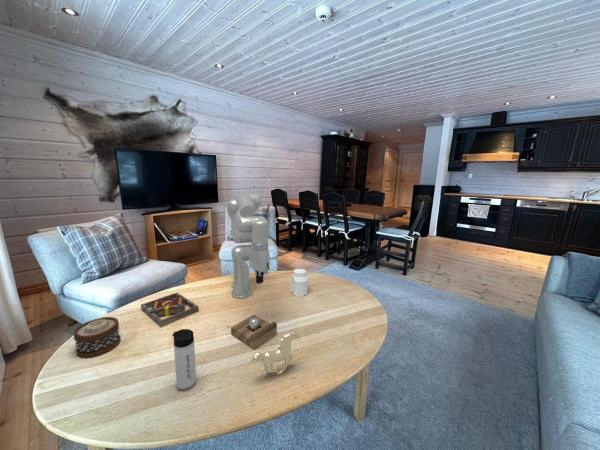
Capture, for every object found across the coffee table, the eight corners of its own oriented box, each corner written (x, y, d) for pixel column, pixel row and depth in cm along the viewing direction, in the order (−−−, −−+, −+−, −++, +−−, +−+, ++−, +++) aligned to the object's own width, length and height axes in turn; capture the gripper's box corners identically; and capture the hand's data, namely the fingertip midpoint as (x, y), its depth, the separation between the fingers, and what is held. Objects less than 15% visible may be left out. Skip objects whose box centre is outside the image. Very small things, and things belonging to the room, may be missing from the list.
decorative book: (154, 308, 134) (153, 300, 133) (186, 302, 140) (185, 294, 139) (150, 319, 124) (149, 310, 123) (185, 313, 130) (184, 304, 129)
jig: (231, 334, 113) (230, 323, 112) (253, 321, 124) (253, 310, 123) (253, 350, 104) (253, 337, 103) (276, 334, 115) (276, 323, 114)
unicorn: (252, 387, 85) (251, 344, 82) (248, 379, 89) (248, 337, 86) (301, 368, 95) (303, 328, 92) (296, 361, 98) (298, 323, 95)
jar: (309, 295, 155) (310, 273, 152) (295, 297, 151) (296, 275, 148) (301, 287, 165) (302, 267, 162) (288, 290, 161) (289, 268, 158)
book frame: (141, 309, 132) (140, 304, 131) (177, 297, 147) (177, 292, 146) (160, 327, 117) (160, 321, 116) (198, 311, 132) (198, 306, 131)
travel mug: (180, 376, 89) (176, 327, 85) (198, 376, 89) (196, 327, 86) (172, 391, 83) (168, 339, 79) (192, 390, 83) (189, 338, 79)
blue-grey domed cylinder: (247, 334, 114) (247, 319, 112) (254, 331, 117) (254, 315, 115) (253, 338, 111) (253, 322, 110) (260, 334, 114) (260, 319, 113)
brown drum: (113, 329, 97) (64, 338, 91) (116, 353, 99) (68, 363, 93) (122, 311, 110) (80, 317, 104) (125, 332, 112) (84, 340, 106)
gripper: (243, 244, 114) (243, 280, 118) (265, 251, 105) (264, 290, 109) (255, 241, 120) (255, 275, 124) (277, 248, 111) (276, 285, 115)
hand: (259, 282), depth 116 cm, fingers closed
